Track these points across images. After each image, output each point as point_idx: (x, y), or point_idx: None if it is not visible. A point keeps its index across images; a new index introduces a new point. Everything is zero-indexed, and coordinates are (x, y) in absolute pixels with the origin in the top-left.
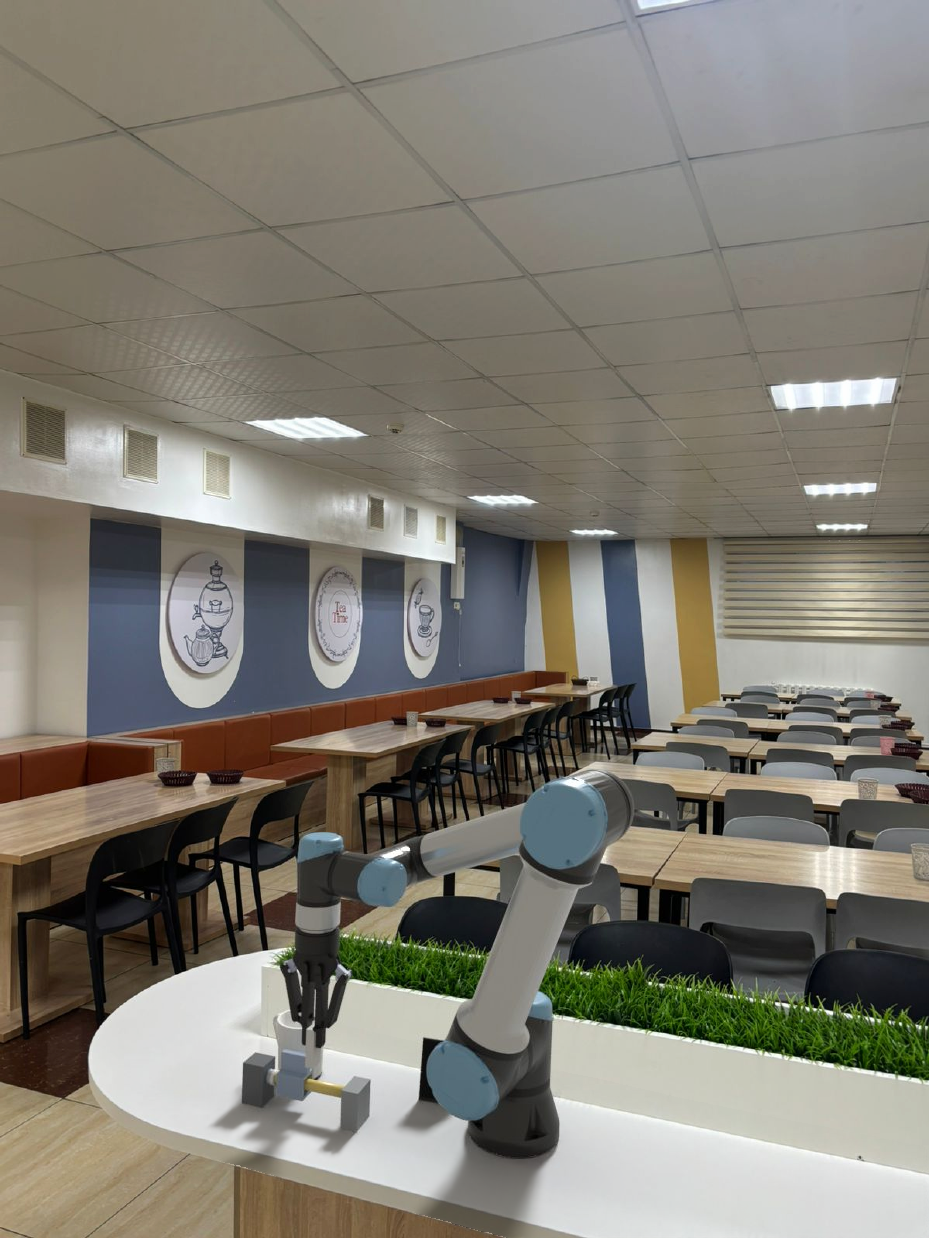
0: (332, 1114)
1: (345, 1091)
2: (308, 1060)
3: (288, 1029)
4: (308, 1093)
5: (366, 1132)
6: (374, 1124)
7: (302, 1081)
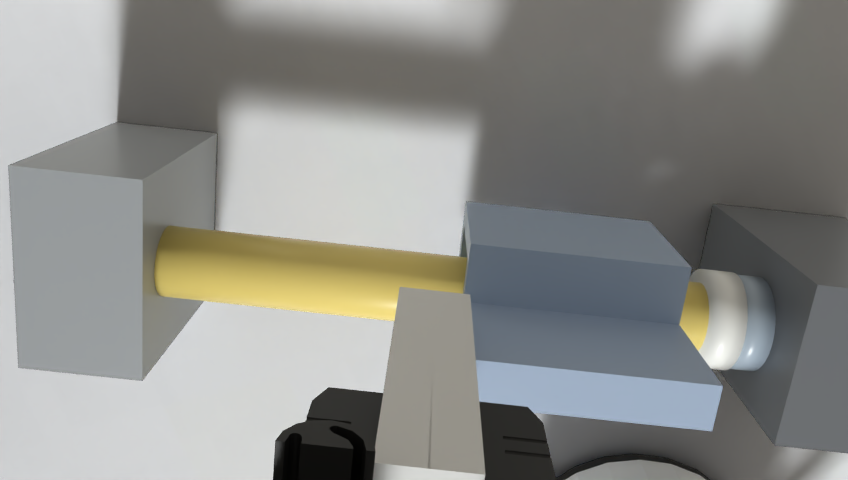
0: None
1: (112, 177)
2: (441, 315)
3: None
4: None
5: (65, 130)
6: None
7: (473, 236)
